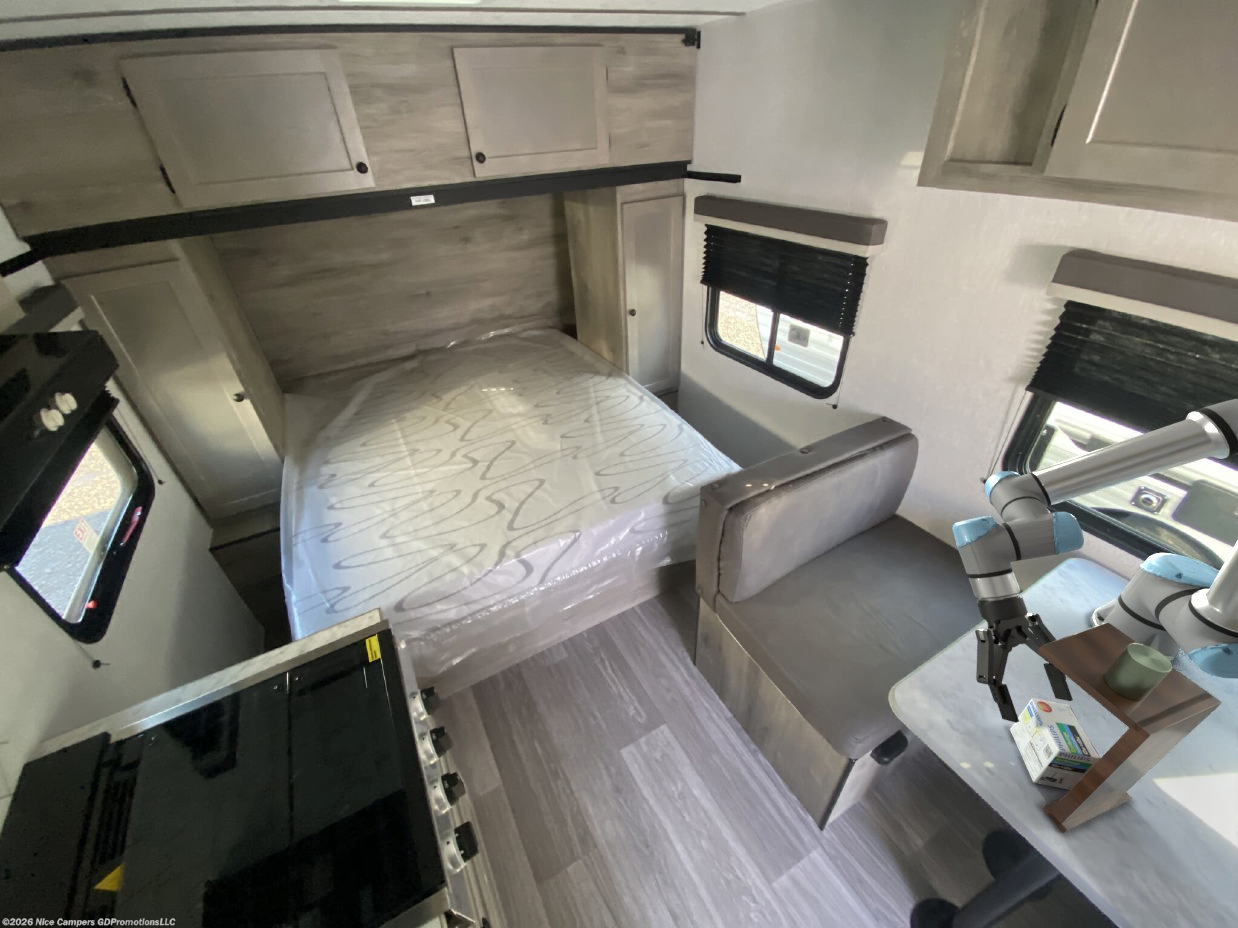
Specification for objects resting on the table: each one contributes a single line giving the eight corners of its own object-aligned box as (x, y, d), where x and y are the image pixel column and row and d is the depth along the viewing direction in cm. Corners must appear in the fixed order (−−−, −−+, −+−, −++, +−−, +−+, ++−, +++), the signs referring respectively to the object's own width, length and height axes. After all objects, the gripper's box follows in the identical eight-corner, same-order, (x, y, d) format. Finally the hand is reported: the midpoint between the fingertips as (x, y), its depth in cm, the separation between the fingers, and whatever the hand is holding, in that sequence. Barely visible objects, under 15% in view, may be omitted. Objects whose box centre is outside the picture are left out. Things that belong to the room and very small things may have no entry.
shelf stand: (1036, 715, 105) (1129, 593, 86) (1128, 801, 91) (1263, 679, 72) (977, 739, 101) (1060, 617, 82) (1064, 833, 87) (1188, 713, 68)
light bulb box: (1073, 791, 93) (1104, 760, 87) (1032, 783, 94) (1059, 752, 88) (1045, 734, 101) (1070, 702, 96) (1007, 728, 103) (1030, 696, 97)
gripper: (1026, 582, 107) (1065, 687, 103) (932, 610, 100) (969, 724, 96) (1064, 581, 100) (1107, 694, 96) (964, 612, 93) (1006, 734, 89)
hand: (1038, 709), depth 96 cm, fingers open, 13 cm apart
